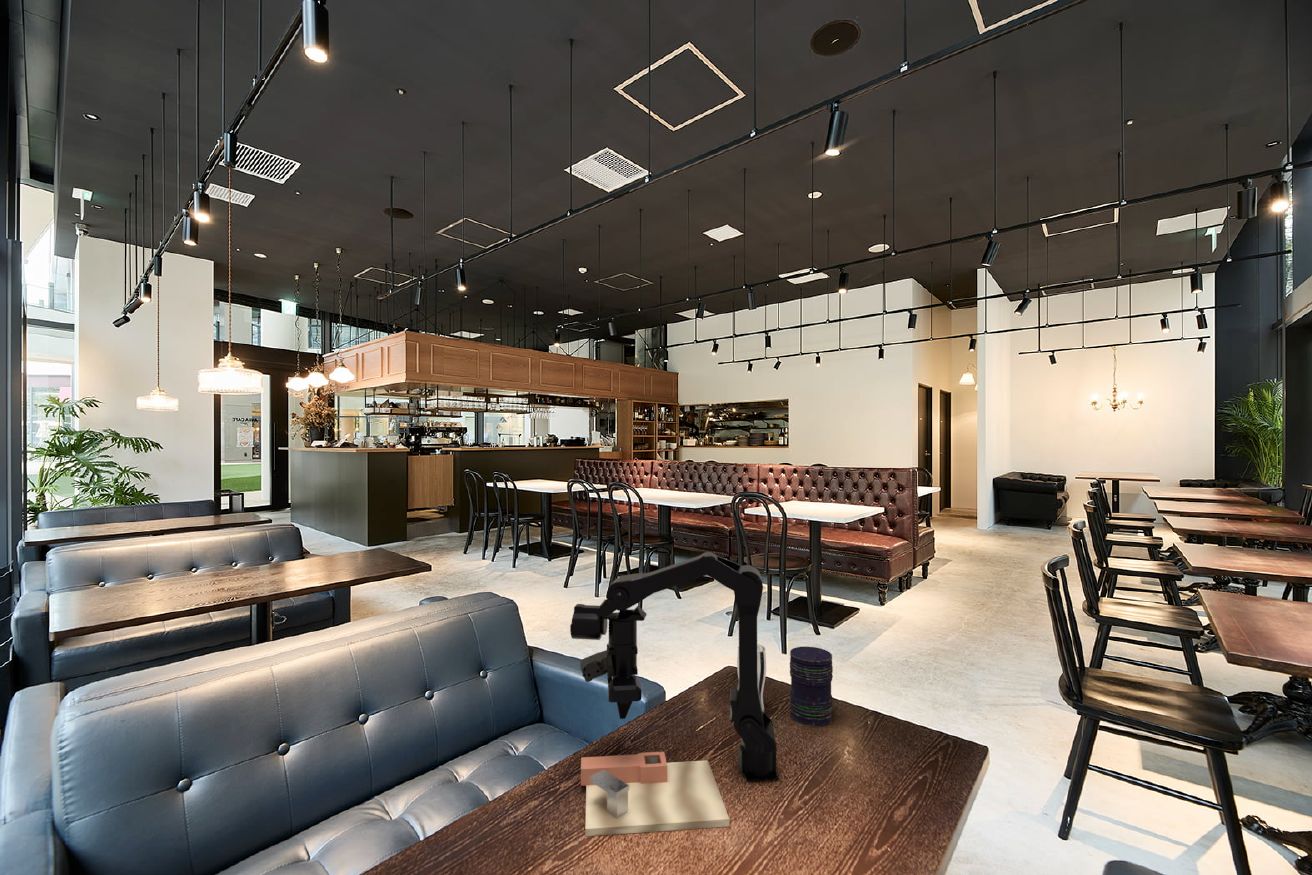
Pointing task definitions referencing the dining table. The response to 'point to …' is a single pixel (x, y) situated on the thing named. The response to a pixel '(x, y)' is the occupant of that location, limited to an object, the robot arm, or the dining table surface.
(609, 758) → the link
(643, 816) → the board
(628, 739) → the dining table surface
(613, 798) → the block
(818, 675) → the storage jar
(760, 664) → the beer glass
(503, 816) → the dining table surface
